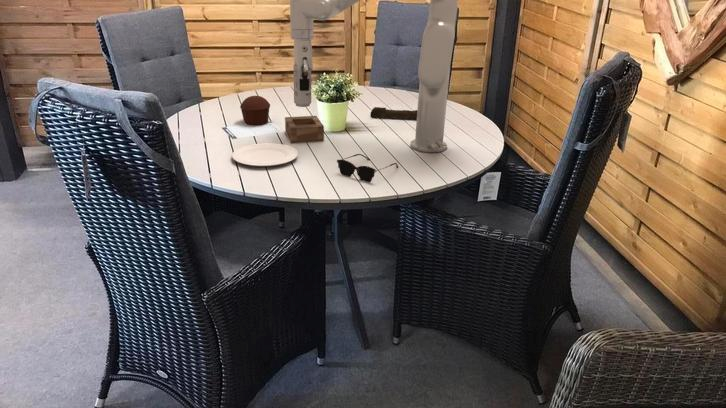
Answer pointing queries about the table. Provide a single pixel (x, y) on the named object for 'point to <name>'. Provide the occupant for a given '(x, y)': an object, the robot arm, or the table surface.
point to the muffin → (255, 111)
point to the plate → (264, 155)
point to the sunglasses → (358, 169)
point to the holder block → (304, 129)
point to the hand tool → (392, 113)
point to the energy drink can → (301, 96)
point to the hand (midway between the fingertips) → (302, 87)
